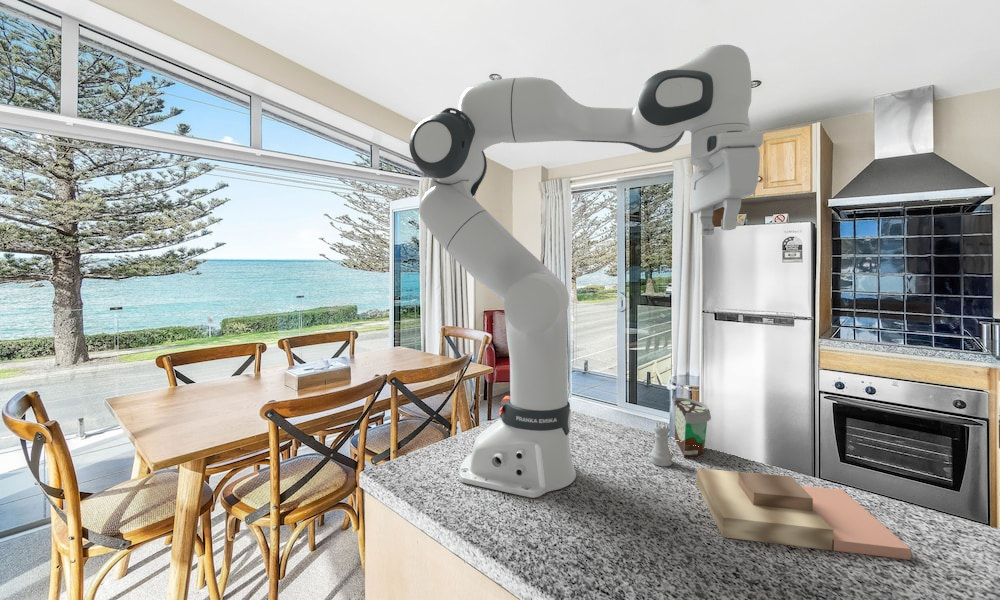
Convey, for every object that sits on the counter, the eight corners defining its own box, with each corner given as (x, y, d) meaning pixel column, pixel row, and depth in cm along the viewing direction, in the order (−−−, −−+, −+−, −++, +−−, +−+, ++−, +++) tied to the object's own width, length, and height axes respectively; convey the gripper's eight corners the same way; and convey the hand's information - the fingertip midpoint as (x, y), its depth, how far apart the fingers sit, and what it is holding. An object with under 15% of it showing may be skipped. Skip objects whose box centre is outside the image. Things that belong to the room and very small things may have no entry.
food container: (717, 463, 85) (719, 415, 85) (685, 461, 87) (686, 413, 86) (701, 440, 97) (702, 397, 97) (673, 438, 99) (674, 396, 98)
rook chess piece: (675, 468, 83) (676, 429, 83) (651, 466, 84) (652, 427, 84) (669, 458, 88) (670, 421, 87) (647, 457, 88) (648, 420, 88)
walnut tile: (753, 505, 64) (753, 492, 64) (738, 483, 71) (738, 471, 71) (812, 511, 63) (812, 498, 63) (790, 488, 70) (791, 476, 69)
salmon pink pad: (833, 550, 58) (834, 540, 58) (783, 492, 74) (783, 484, 74) (910, 559, 56) (910, 549, 56) (841, 498, 72) (842, 489, 72)
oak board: (722, 537, 61) (723, 517, 61) (696, 483, 77) (697, 468, 77) (832, 550, 58) (832, 529, 58) (781, 492, 74) (782, 475, 74)
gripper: (681, 166, 81) (680, 238, 82) (723, 131, 61) (720, 226, 62) (716, 165, 80) (714, 237, 81) (769, 128, 60) (766, 225, 61)
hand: (717, 232), depth 71 cm, fingers open, 8 cm apart
